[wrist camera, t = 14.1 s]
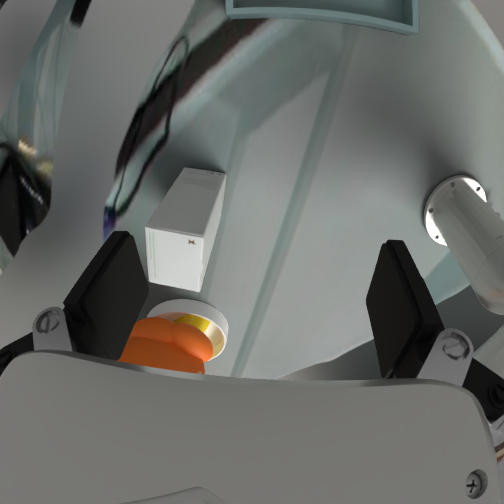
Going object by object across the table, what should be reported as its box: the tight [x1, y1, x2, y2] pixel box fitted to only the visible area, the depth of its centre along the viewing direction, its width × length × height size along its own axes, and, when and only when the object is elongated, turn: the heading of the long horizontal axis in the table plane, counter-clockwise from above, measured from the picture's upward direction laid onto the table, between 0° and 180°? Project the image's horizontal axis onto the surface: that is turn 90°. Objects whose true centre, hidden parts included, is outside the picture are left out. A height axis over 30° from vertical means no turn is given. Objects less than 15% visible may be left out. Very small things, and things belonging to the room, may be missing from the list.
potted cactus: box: [116, 299, 228, 374], centre depth 48 cm, size 22×22×35 cm
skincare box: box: [145, 167, 226, 292], centre depth 37 cm, size 8×7×16 cm
